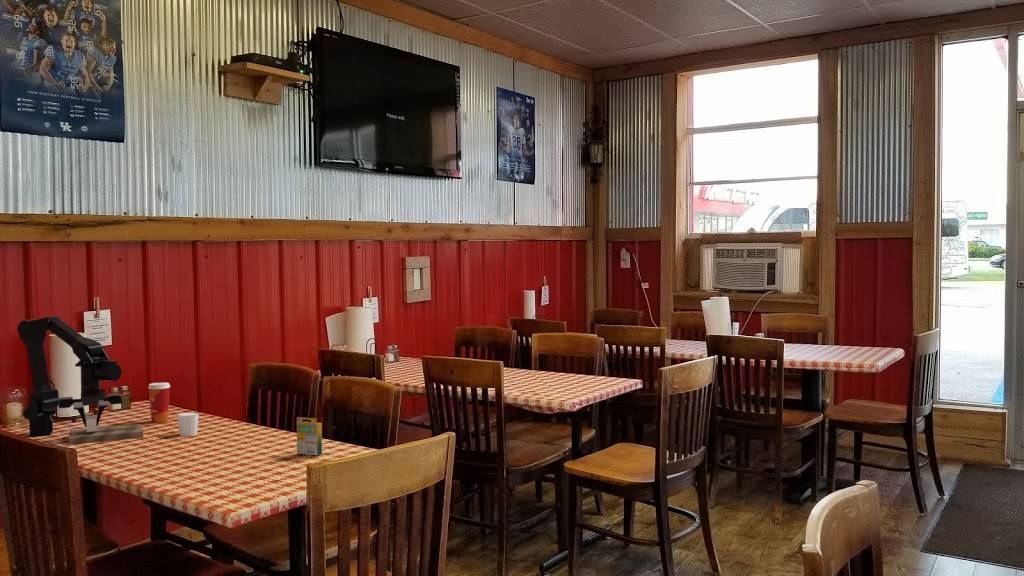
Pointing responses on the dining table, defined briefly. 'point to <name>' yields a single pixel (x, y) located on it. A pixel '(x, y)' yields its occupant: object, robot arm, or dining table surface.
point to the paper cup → (159, 402)
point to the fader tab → (91, 424)
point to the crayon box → (309, 436)
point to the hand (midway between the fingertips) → (91, 426)
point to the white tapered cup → (188, 423)
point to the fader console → (106, 434)
